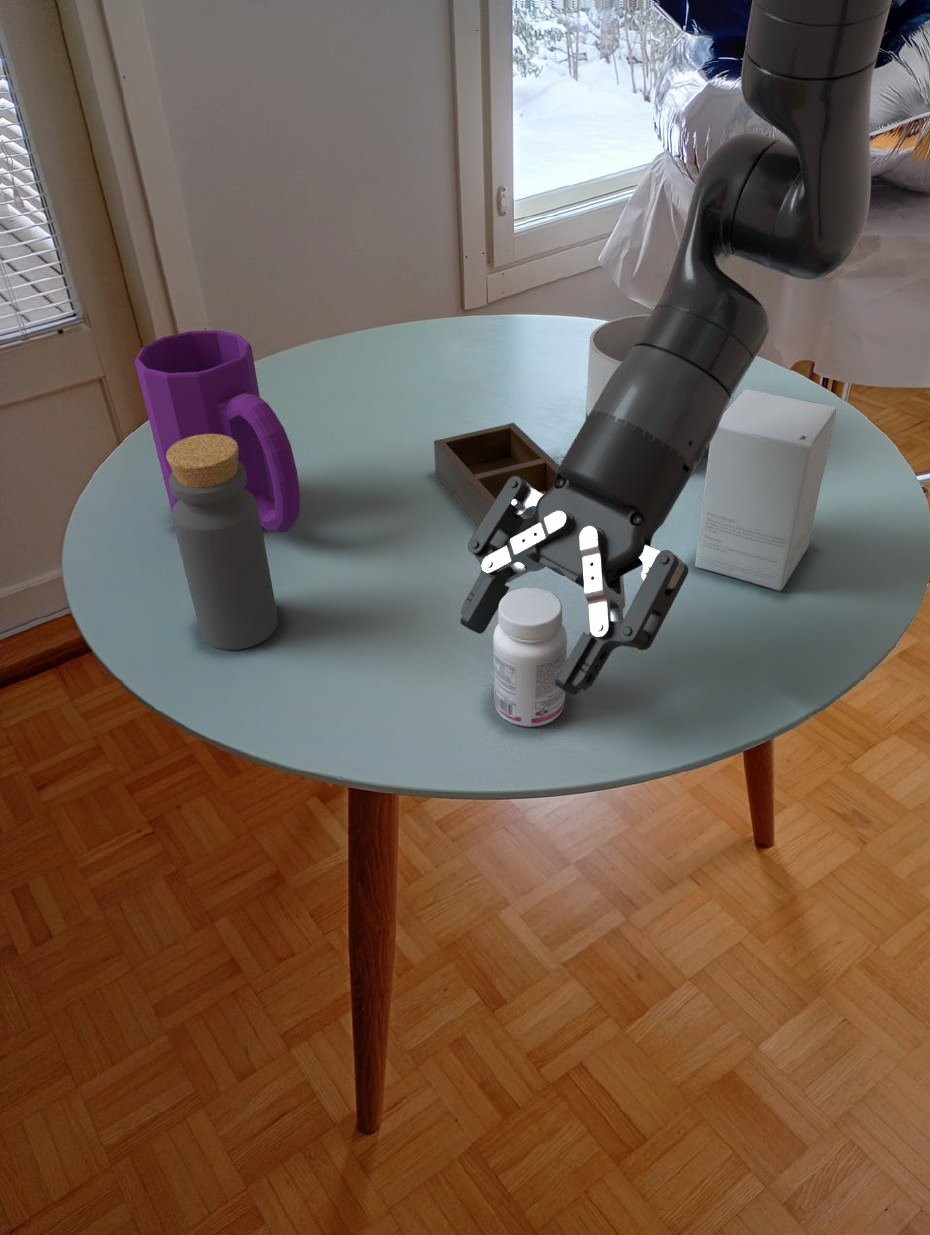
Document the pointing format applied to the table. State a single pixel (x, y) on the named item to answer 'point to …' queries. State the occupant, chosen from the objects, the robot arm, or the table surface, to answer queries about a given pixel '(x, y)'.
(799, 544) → the white packaging box
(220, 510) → the bottle
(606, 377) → the planter
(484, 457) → the divided wooden box
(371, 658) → the table surface
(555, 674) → the pill bottle
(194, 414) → the mug
